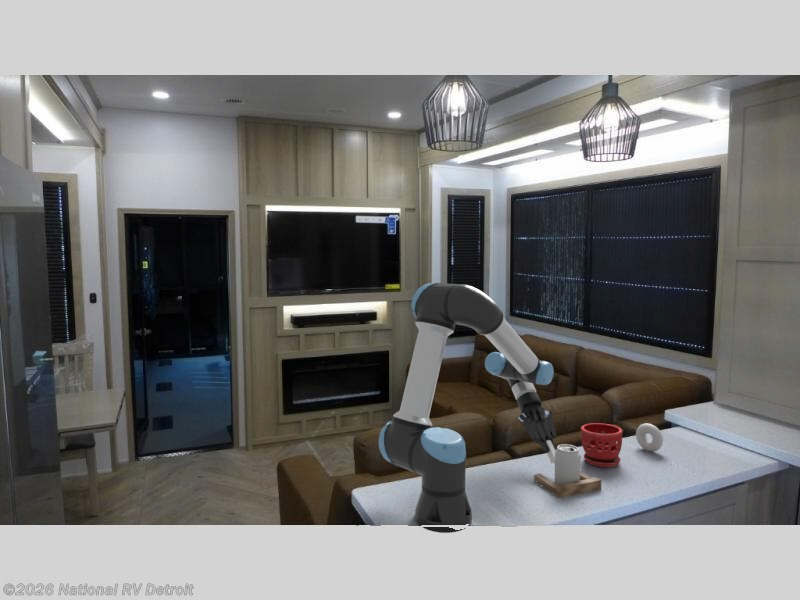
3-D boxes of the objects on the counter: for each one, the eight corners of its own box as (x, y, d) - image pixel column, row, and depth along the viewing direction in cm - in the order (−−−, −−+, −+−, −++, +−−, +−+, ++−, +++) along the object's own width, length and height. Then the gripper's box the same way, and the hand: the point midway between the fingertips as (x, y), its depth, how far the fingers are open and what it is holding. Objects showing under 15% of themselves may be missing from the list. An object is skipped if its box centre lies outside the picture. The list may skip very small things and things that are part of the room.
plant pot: (622, 458, 182) (623, 424, 181) (620, 472, 171) (621, 436, 169) (582, 452, 188) (583, 419, 187) (578, 466, 176) (579, 431, 175)
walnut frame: (559, 497, 153) (559, 488, 153) (534, 480, 165) (534, 471, 165) (601, 489, 158) (601, 480, 158) (573, 473, 170) (574, 464, 170)
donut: (633, 447, 192) (634, 420, 192) (639, 445, 194) (640, 419, 193) (658, 456, 184) (659, 428, 183) (664, 454, 185) (665, 426, 185)
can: (582, 491, 157) (583, 452, 156) (556, 490, 158) (557, 451, 157) (577, 480, 165) (577, 443, 164) (552, 479, 166) (553, 442, 165)
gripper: (538, 399, 186) (567, 463, 172) (505, 403, 182) (532, 469, 168) (547, 388, 181) (577, 453, 167) (514, 392, 176) (542, 459, 162)
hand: (555, 461), depth 167 cm, fingers closed
